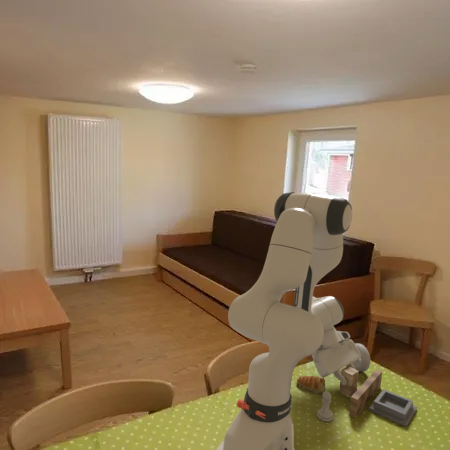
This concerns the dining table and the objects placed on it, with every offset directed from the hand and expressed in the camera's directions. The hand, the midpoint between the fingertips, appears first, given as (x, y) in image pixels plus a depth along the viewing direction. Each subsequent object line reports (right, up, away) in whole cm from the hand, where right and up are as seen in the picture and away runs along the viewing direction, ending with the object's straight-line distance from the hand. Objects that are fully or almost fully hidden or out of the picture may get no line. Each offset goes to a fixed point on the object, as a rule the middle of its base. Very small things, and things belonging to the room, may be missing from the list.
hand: (350, 381), depth 124 cm
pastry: (-12, -4, +4) cm, 13 cm away
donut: (+8, -3, +16) cm, 18 cm away
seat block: (+11, -6, -7) cm, 14 cm away
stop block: (-1, -4, +1) cm, 4 cm away
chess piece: (-12, -6, -12) cm, 17 cm away
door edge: (+4, -5, -3) cm, 7 cm away
